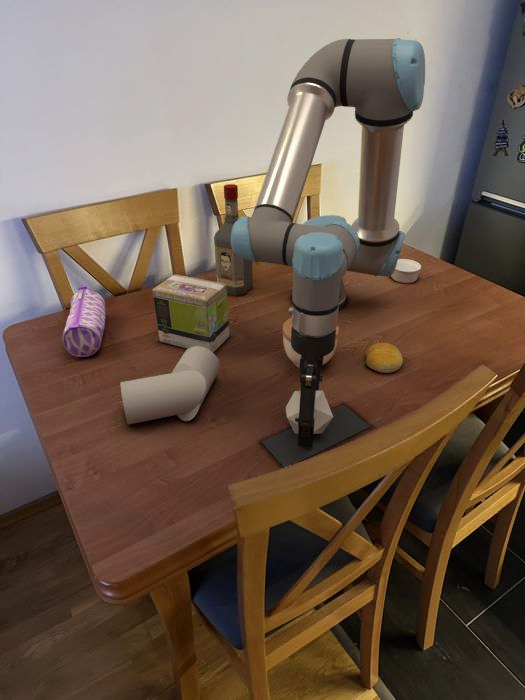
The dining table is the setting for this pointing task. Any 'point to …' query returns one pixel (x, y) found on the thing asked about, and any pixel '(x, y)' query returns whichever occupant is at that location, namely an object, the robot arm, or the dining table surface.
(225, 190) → the liquor
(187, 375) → the bent grey cylinder
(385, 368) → the bread roll
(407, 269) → the ramekin
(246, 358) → the dining table surface
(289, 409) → the die
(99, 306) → the pencil case
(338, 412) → the edge mat
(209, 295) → the tea box
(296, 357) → the cork-lidded white jar
